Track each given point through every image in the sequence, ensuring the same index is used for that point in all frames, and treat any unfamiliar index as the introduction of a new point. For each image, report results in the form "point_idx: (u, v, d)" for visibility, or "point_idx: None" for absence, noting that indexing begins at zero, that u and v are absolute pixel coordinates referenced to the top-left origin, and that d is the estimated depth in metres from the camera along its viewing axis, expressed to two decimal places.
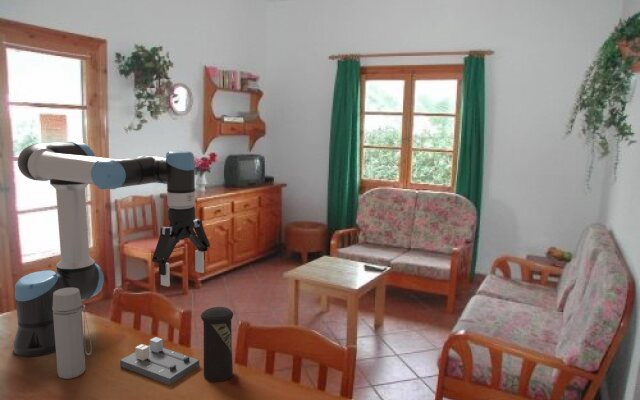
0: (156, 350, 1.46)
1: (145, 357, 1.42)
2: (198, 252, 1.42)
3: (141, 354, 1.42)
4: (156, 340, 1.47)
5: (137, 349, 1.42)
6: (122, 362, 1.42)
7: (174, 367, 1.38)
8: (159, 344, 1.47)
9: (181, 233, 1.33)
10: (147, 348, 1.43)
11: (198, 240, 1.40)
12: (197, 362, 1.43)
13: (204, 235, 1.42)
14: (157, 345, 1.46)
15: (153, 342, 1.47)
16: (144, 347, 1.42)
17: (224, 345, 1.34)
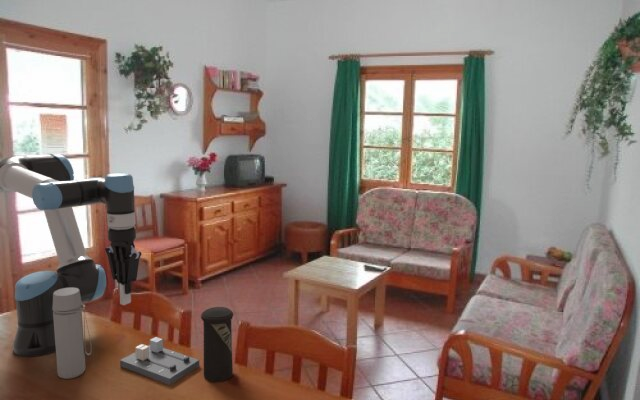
0: (156, 350, 1.46)
1: (145, 357, 1.42)
2: None
3: (141, 354, 1.42)
4: (156, 340, 1.47)
5: (137, 349, 1.42)
6: (122, 362, 1.42)
7: (174, 367, 1.38)
8: (159, 344, 1.47)
9: (114, 252, 1.40)
10: (147, 348, 1.43)
11: (123, 269, 1.40)
12: (197, 362, 1.43)
13: (130, 269, 1.38)
14: (157, 345, 1.46)
15: (153, 342, 1.47)
16: (144, 347, 1.42)
17: (224, 345, 1.34)
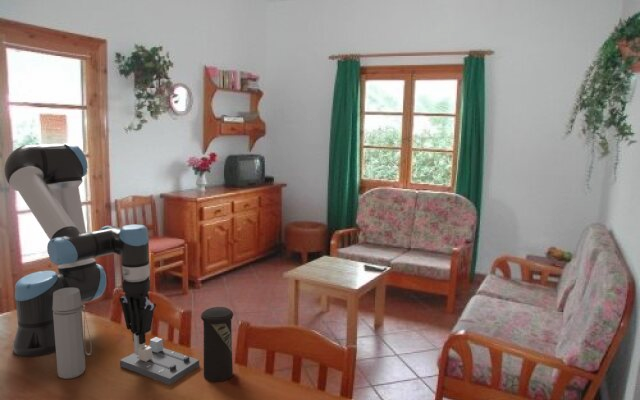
0: (156, 350, 1.46)
1: (148, 358, 1.42)
2: None
3: (144, 355, 1.41)
4: (156, 340, 1.47)
5: (140, 350, 1.42)
6: (122, 362, 1.42)
7: (174, 367, 1.38)
8: (159, 344, 1.47)
9: (129, 303, 1.40)
10: (150, 349, 1.42)
11: (138, 320, 1.40)
12: (197, 362, 1.43)
13: (144, 320, 1.39)
14: (157, 345, 1.46)
15: (153, 342, 1.47)
16: (147, 348, 1.42)
17: (224, 345, 1.34)
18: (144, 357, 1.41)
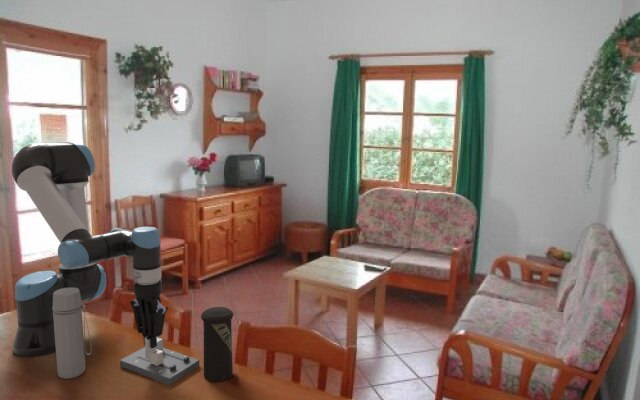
0: None
1: (159, 362, 1.40)
2: None
3: (155, 359, 1.39)
4: None
5: (151, 354, 1.39)
6: (122, 362, 1.42)
7: (174, 367, 1.38)
8: (159, 344, 1.47)
9: (140, 306, 1.38)
10: (161, 353, 1.40)
11: (149, 323, 1.38)
12: (197, 362, 1.43)
13: (156, 324, 1.37)
14: (157, 345, 1.46)
15: None
16: (158, 352, 1.40)
17: (224, 345, 1.34)
18: (155, 361, 1.39)
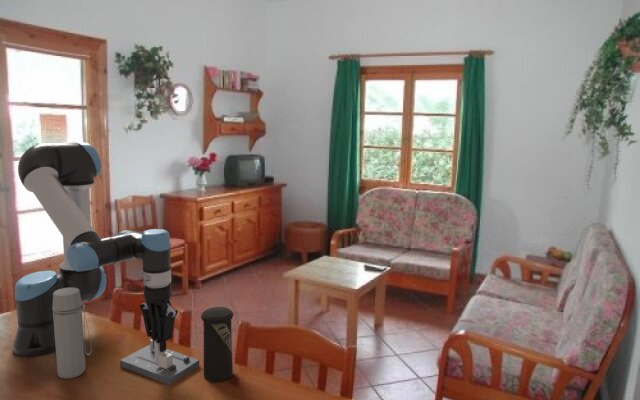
0: None
1: (169, 365, 1.38)
2: None
3: (165, 362, 1.37)
4: None
5: (160, 357, 1.38)
6: (122, 362, 1.42)
7: (174, 367, 1.38)
8: None
9: (149, 309, 1.36)
10: (171, 356, 1.38)
11: (159, 327, 1.36)
12: (197, 362, 1.43)
13: (166, 328, 1.35)
14: None
15: None
16: (167, 355, 1.38)
17: (224, 345, 1.34)
18: (165, 364, 1.37)
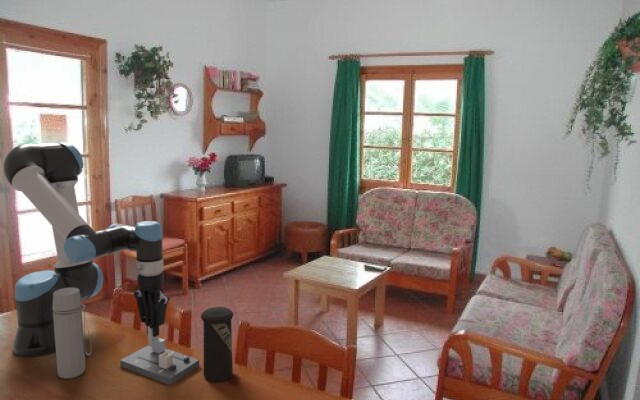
0: (158, 351, 1.46)
1: (169, 365, 1.38)
2: None
3: (165, 362, 1.37)
4: (158, 341, 1.46)
5: (160, 357, 1.38)
6: (122, 362, 1.42)
7: (174, 367, 1.38)
8: (161, 345, 1.46)
9: (143, 297, 1.45)
10: (171, 356, 1.38)
11: (152, 313, 1.45)
12: (197, 362, 1.43)
13: (158, 314, 1.44)
14: (159, 346, 1.46)
15: (155, 343, 1.46)
16: (167, 355, 1.38)
17: (224, 345, 1.34)
18: (165, 364, 1.37)
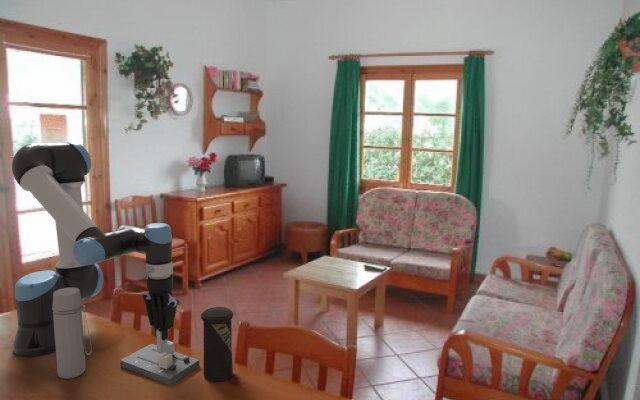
0: None
1: (169, 365, 1.38)
2: None
3: (165, 362, 1.37)
4: (167, 344, 1.45)
5: (160, 357, 1.38)
6: (122, 362, 1.42)
7: (174, 367, 1.38)
8: (170, 348, 1.45)
9: (152, 300, 1.43)
10: (171, 356, 1.38)
11: (161, 316, 1.43)
12: (197, 362, 1.43)
13: (167, 317, 1.42)
14: (168, 349, 1.44)
15: (164, 346, 1.44)
16: (167, 355, 1.38)
17: (224, 345, 1.34)
18: (165, 364, 1.37)
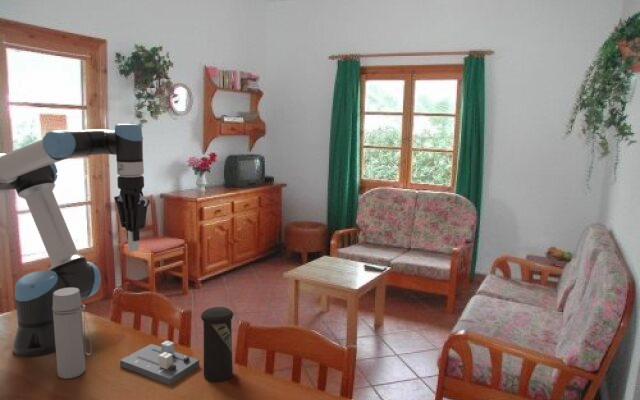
0: None
1: (169, 365, 1.38)
2: None
3: (165, 362, 1.37)
4: (167, 344, 1.45)
5: (160, 357, 1.38)
6: (122, 362, 1.42)
7: (174, 367, 1.38)
8: (170, 348, 1.45)
9: (123, 200, 1.45)
10: (171, 356, 1.38)
11: (132, 216, 1.45)
12: (197, 362, 1.43)
13: (138, 216, 1.44)
14: (169, 349, 1.44)
15: (164, 346, 1.44)
16: (167, 355, 1.38)
17: (224, 345, 1.34)
18: (165, 364, 1.37)
